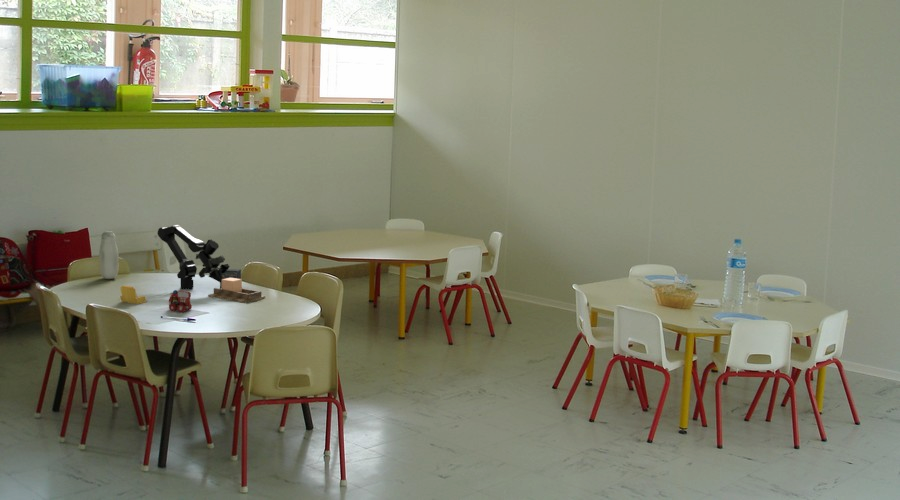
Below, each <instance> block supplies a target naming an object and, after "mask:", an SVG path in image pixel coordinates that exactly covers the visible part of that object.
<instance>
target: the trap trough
mask: <svg viewBox="0 0 900 500" xmlns="http://www.w3.org/2000/svg"><path fill="white" fill-rule="evenodd" d="M207 296H208V297H209V298H214V297H215V298H216V299H221V300H227V301H231V302H232V301H233V302H239V303H244V304H246V303H250V302H254V301H259V300H263V299H266V296H265V295H262V291H260V290H254V289H248V288H244V287H243V288H242V293H240V292H235V291H229V290H223V289H222V288H216V287H215V288H213V293H210V294H209V293H208V294H207ZM215 298H214V299H215Z"/></svg>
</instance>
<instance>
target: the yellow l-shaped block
mask: <svg viewBox="0 0 900 500" xmlns="http://www.w3.org/2000/svg"><path fill="white" fill-rule="evenodd" d="M120 293H121V295H120V299H121V302H122V303H126V302H128V304H134V305H140V304H143V303H146V302H147V299H146V296H143V295H142V296H138V297H137V293H136V289H135V288H134V287H133V286H130V285H129V286H128V285H121V286H120Z"/></svg>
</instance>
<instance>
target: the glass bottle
mask: <svg viewBox="0 0 900 500" xmlns="http://www.w3.org/2000/svg"><path fill="white" fill-rule="evenodd" d="M98 251H99V252H98V257H99V259H98V260H99V261H98V262H99V273H100V275H101V277H102V278H103V279H105V280H112V279H113V280H114V279H115V278H116V277H117V275H118V274H119V268H120V267H119V249H118V245H117V242H116V234H115V233H114V231H112V230H105V231H103V232H102V233H101V236H100V245H99V250H98Z"/></svg>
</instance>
